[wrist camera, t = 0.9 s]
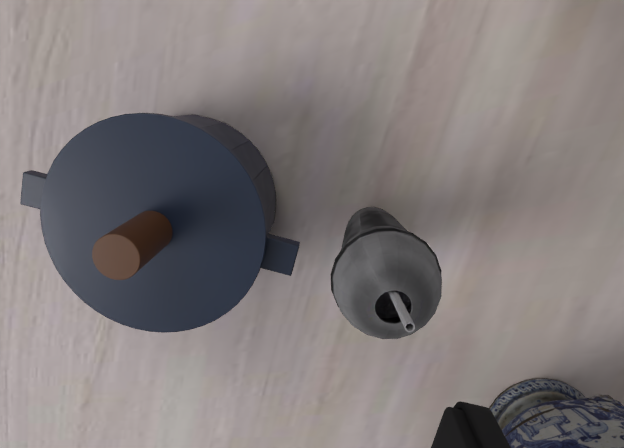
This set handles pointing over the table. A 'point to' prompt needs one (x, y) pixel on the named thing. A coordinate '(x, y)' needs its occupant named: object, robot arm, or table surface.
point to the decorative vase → (557, 417)
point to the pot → (277, 248)
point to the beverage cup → (385, 276)
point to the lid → (153, 222)
